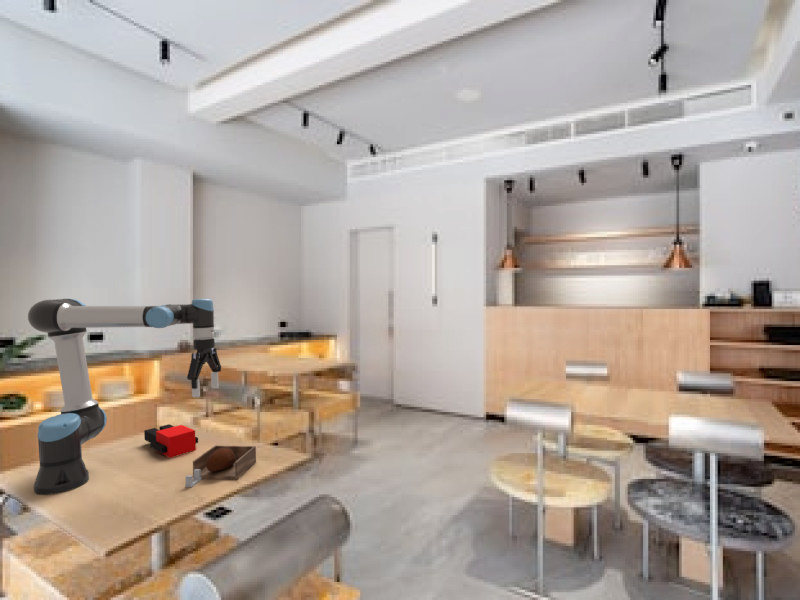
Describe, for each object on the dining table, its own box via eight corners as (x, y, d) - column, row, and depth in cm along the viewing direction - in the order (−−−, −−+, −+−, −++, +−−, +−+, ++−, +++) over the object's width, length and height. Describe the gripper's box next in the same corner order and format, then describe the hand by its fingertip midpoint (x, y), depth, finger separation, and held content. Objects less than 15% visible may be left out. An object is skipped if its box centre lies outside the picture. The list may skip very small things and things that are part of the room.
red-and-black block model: (173, 418, 199) (200, 429, 184) (174, 436, 200) (200, 448, 184) (138, 426, 188) (163, 439, 172) (139, 446, 188) (164, 459, 173)
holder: (193, 478, 155) (192, 461, 155) (215, 461, 170) (215, 445, 170) (237, 479, 153) (236, 462, 153) (256, 462, 168) (255, 446, 168)
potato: (242, 465, 163) (241, 443, 163) (217, 477, 152) (216, 455, 152) (226, 461, 166) (226, 441, 166) (201, 474, 156) (201, 452, 155)
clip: (185, 487, 148) (184, 476, 148) (195, 479, 154) (194, 469, 154) (191, 487, 148) (191, 476, 148) (201, 479, 154) (201, 469, 154)
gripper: (194, 342, 157) (196, 400, 158) (228, 334, 182) (230, 384, 183) (175, 342, 158) (177, 400, 159) (211, 334, 183) (213, 384, 184)
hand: (205, 392), depth 171 cm, fingers open, 13 cm apart
